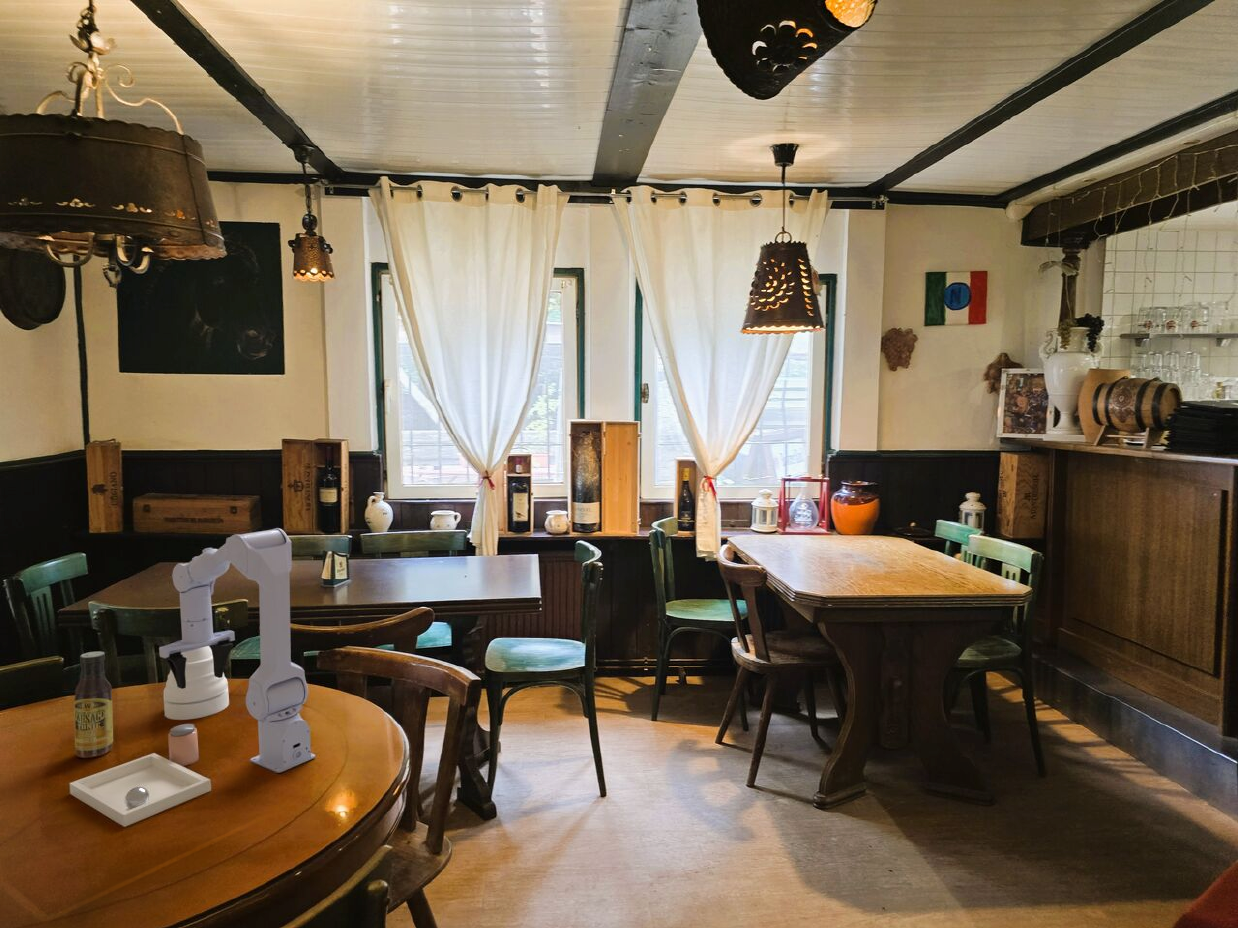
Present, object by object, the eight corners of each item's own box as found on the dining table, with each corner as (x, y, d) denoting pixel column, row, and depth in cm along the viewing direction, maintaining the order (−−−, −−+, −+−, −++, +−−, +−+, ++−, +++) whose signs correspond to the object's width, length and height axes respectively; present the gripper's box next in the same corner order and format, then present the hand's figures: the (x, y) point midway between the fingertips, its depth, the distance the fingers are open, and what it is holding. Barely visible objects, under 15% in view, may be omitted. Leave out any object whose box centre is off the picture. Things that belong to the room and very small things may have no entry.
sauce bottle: (70, 761, 150) (63, 660, 148) (83, 748, 156) (76, 651, 154) (109, 757, 151) (102, 657, 150) (120, 743, 157) (114, 647, 156)
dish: (211, 793, 136) (210, 779, 136) (124, 830, 125) (123, 815, 124) (154, 765, 147) (154, 752, 147) (70, 796, 136) (69, 782, 136)
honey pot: (168, 703, 179) (163, 626, 178) (230, 694, 184) (226, 619, 183) (160, 723, 167) (155, 642, 166) (227, 713, 172) (223, 634, 171)
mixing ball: (153, 806, 131) (152, 786, 131) (131, 815, 128) (130, 794, 128) (143, 800, 133) (142, 780, 133) (121, 809, 130) (120, 789, 130)
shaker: (203, 761, 149) (201, 726, 148) (178, 771, 145) (175, 735, 144) (190, 755, 151) (188, 720, 151) (165, 765, 147) (162, 729, 147)
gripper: (221, 608, 171) (224, 668, 172) (150, 623, 159) (154, 688, 160) (238, 612, 167) (241, 674, 168) (167, 629, 155) (171, 695, 156)
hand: (200, 681), depth 164 cm, fingers open, 7 cm apart
